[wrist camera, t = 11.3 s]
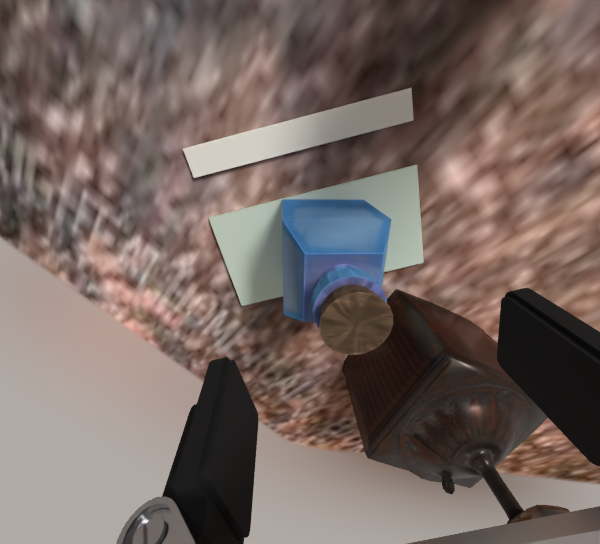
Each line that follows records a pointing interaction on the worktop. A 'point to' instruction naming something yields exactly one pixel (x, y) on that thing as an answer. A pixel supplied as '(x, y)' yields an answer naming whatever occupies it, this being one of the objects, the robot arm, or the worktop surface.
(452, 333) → the dark brown coffee grinder
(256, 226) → the mat
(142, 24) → the worktop surface
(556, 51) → the worktop surface
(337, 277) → the perfume bottle
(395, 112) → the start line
